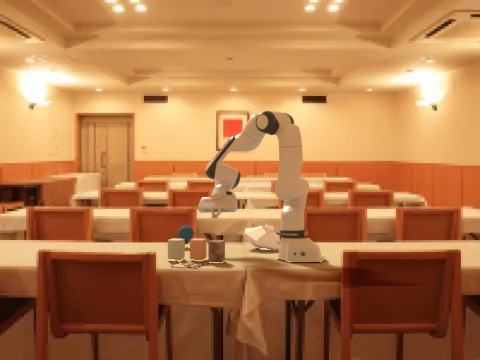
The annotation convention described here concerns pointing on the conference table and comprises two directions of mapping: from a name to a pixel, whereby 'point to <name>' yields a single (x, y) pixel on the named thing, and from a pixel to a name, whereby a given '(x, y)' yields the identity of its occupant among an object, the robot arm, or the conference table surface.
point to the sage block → (176, 249)
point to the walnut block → (216, 251)
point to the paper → (263, 237)
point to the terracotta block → (198, 249)
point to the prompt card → (191, 264)
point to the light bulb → (186, 233)
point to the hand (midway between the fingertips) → (214, 217)
